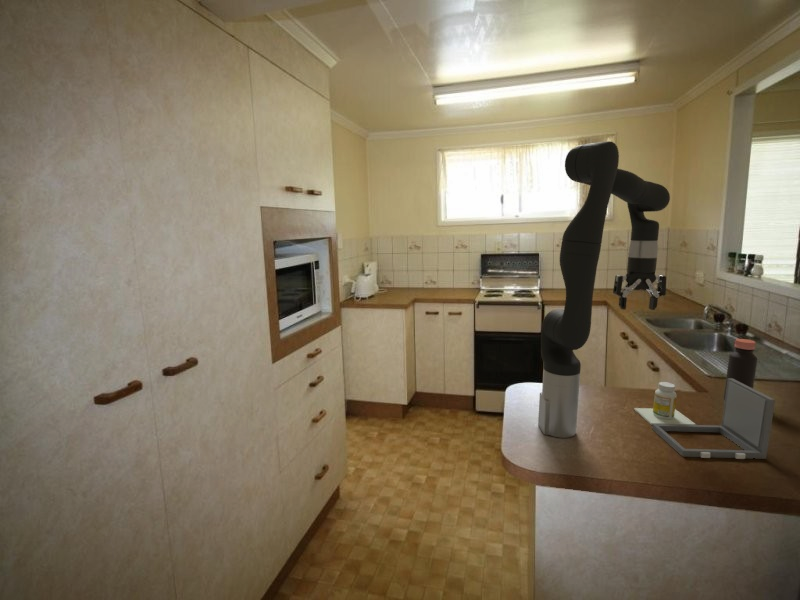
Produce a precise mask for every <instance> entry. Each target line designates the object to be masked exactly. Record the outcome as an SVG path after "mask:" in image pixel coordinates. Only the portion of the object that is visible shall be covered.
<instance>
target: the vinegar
mask: <svg viewBox="0 0 800 600" xmlns="http://www.w3.org/2000/svg"><path fill="white" fill-rule="evenodd" d="M756 344H757V343H756V341H754V340H752V339H746V338H736V339H735V341H734V350H733V352H731V353H729V354H728V362H727V370H726V377H725V378H726V379H725V384H724V385H725V386H724V391H723V393H724V394H723V400H724V401H725V395H726V387H727V380H728V378H733V379H735V380H737V381H739V382H741V383H743V384H745V385H747V386H749V387H751V388H753V389H754V387H755V385H754V384H755V380H756V379H755V377H756V371H757V365H758V358H757V356H756V355H755V354H754V351H755V349H756Z"/></svg>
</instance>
